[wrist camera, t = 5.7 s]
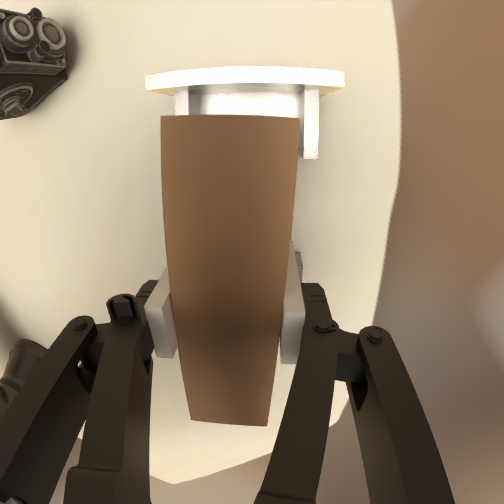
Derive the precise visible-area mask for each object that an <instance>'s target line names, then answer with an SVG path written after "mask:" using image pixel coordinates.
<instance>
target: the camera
mask: <svg viewBox="0 0 504 504" xmlns="http://www.w3.org/2000/svg"><path fill="white" fill-rule="evenodd" d="M65 42H66V37H65V34H64V31H63V29H62V28H61V26H60V25H59V24H58V23H57V22H56V21H54V20H53V19H50V18H45V17H42V13H41V11H40V10H39V9H37V8H32V9H31V11H30V12H29V13H27V14H22V13H18V12H14V11H9V10H4V9H0V120H3V119H9V118H16V117H21V116H23V115H25V114H26V113H28V112H29V111H30V110H31V109H32V108H33V107H34V106H35V105H36V104H38V103H39V102H40V101H41V100H42V99H43V98H44V97H45V96H47V95H48V94H49V93H50V92H51V91H52V90H54V89H55V88H56V87H57V86H58V85H60V84H61V83H62V82H63V81H65V80H66V79H67V77H66V74H65V71H64V68H65V67H66V61H65V54H64V52H65V49H66V43H65Z"/></svg>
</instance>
